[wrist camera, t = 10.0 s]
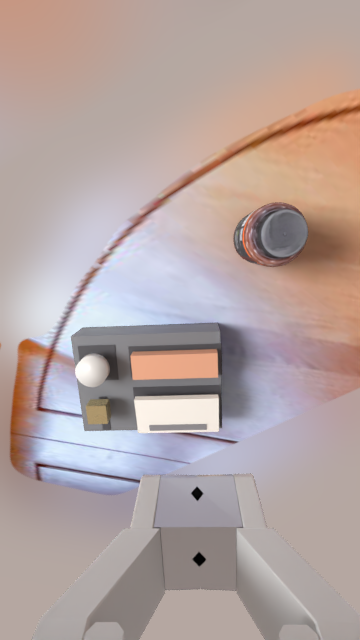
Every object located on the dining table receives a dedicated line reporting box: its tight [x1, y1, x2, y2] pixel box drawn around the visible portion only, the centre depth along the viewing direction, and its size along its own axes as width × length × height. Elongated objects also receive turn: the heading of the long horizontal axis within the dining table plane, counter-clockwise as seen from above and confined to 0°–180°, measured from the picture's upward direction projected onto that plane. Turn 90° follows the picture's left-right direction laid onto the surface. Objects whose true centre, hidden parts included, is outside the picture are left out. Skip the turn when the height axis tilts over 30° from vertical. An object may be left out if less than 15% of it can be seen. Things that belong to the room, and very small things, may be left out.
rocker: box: [134, 394, 219, 433], centre depth 36 cm, size 10×5×1 cm, turn 93°
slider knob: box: [86, 399, 111, 424], centre depth 37 cm, size 2×2×2 cm
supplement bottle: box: [234, 203, 308, 267], centre depth 31 cm, size 6×6×11 cm
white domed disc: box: [75, 354, 110, 387], centre depth 35 cm, size 4×4×1 cm
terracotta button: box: [131, 349, 218, 380], centre depth 35 cm, size 10×3×1 cm, turn 93°
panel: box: [71, 323, 222, 431], centre depth 39 cm, size 18×13×4 cm
